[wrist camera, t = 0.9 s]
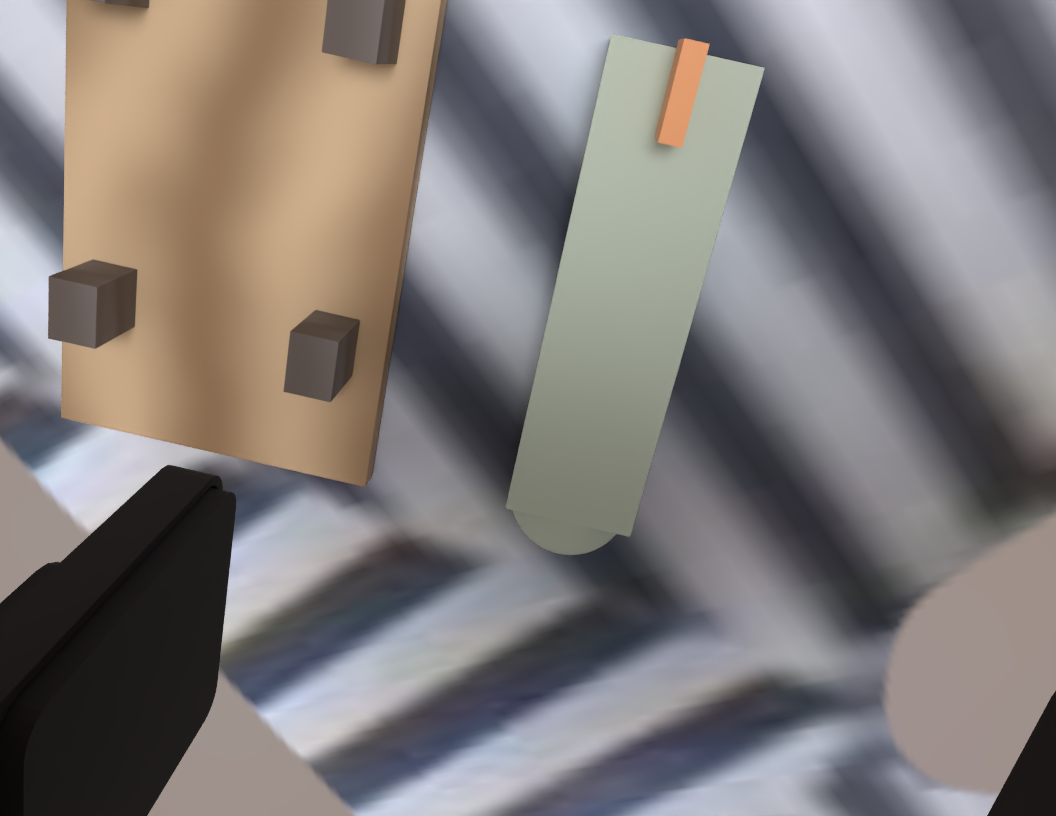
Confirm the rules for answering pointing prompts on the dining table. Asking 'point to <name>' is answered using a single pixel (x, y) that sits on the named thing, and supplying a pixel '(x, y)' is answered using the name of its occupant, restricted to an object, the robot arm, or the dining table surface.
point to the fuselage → (627, 286)
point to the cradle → (240, 220)
